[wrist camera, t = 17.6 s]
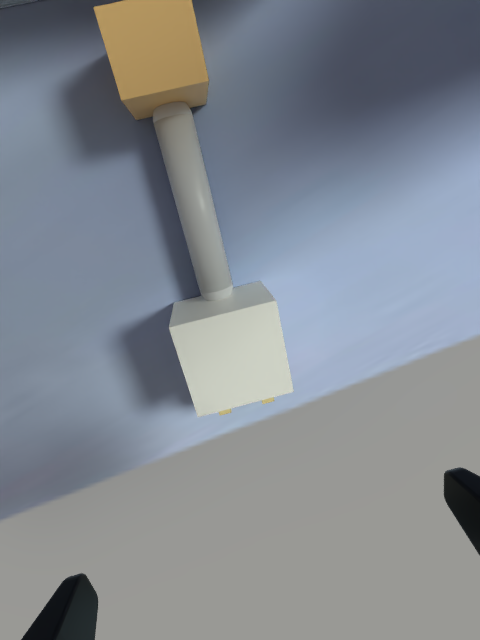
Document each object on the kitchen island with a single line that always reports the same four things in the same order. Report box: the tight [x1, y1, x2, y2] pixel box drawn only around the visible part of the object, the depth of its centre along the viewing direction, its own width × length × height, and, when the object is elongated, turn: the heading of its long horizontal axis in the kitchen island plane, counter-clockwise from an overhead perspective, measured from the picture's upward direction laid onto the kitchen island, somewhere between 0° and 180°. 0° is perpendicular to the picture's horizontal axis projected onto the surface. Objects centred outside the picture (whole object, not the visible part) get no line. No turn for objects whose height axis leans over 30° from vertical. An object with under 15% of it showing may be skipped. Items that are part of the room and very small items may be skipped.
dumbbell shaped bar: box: [93, 0, 294, 417], centre depth 14 cm, size 4×16×4 cm, turn 13°
